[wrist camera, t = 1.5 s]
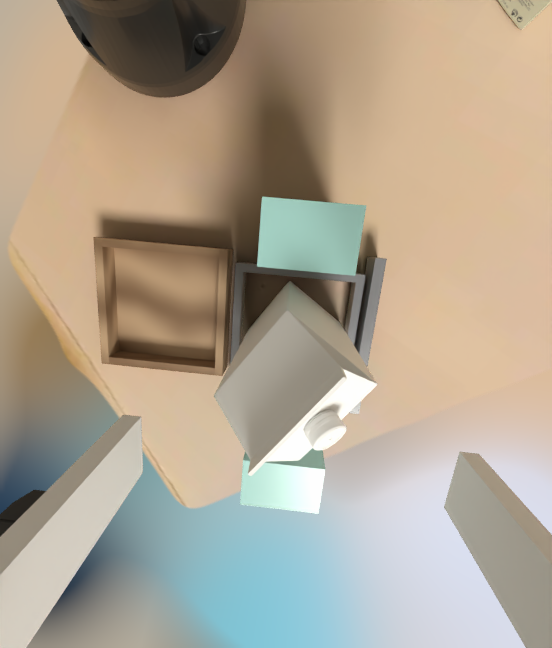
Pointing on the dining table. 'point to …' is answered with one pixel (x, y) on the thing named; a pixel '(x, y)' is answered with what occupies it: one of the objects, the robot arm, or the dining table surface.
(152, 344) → the tray
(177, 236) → the dining table surface
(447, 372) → the dining table surface
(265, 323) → the milk carton
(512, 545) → the robot arm
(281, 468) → the holder
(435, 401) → the dining table surface
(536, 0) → the skincare box
